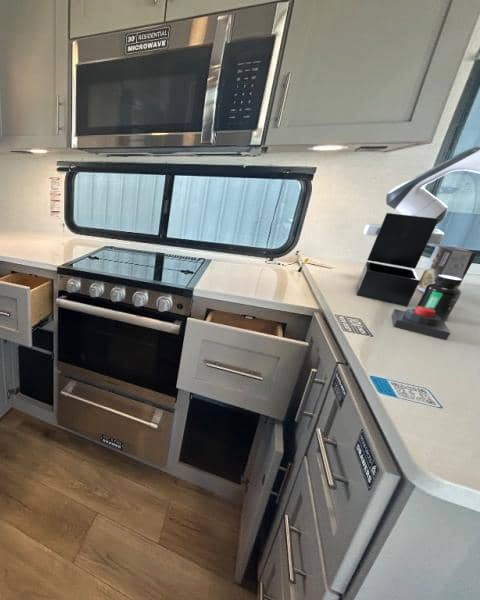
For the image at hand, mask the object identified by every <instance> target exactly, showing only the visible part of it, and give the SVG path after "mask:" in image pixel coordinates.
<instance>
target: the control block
mask: <svg viewBox="0 0 480 600" xmlns="http://www.w3.org/2000/svg"><path fill="white" fill-rule="evenodd" d="M415 309H416V308H407V309H406V310H405V311H404V310H401V309H397V308H394V309H393V311H392V312H391V313H392V314H391V320H392V327H393V328H397V329H400V330H405V331H408V332H411V333H416V334H420V335H423V336H428V337H432V338H436V339H440V340H444V341H447V340H448V338H449V337H450V335H451V331H450V329H449V327H448V325H447V324H446V322H445V320H441V318H440V316H438V315H436V314H434V316H433V317H425V316H421V315H418V314H416V313H414V311H415Z"/></svg>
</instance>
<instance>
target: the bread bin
mask: <svg viewBox="0 0 480 600" xmlns="http://www.w3.org/2000/svg"><path fill="white" fill-rule="evenodd" d="M419 282H420V278H419V276H418V274H417V272H416V270H415V269H413V268H408V267H402V266H396V265H391V264H385V263H379V262H373V261H366V262H365V264H364V267H363V269H362V272H361V274H360V277H359V279H358V281H357V284H356V295H355V296H358V297H362V298H366V299H371V300H375V301H380V302H383V303H388V304H393V305H397V306H401V307H406V308H407V307H408V306H409V304H410V302H411V300H412V298H413V296H414V294H415V292H416V290H417V286H418V284H419Z"/></svg>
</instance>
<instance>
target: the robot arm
mask: <svg viewBox="0 0 480 600" xmlns="http://www.w3.org/2000/svg"><path fill="white" fill-rule="evenodd" d="M459 171H466V172H472V173H476V174H480V147H479V146H475V147H472V148H468V149H467V150H464V151H463V152H460V153H458V154H456V155H454V156H452V157H450V158H449V159H446V160H444V161H443V162H441V163H439V164H437V165H436V166H434V167H432V168H430V169H428V170H426V171H425V172H422V173H420V174H419V175H416V176H415V177H412V178H411V179H409V180H407V181H404V182H401V183H399V184H398V185H396V186H394V187H393V188H391V190H389V191H388V193H386V197H385V198H386V199H385V203H386V205H387V206H389V207H390V208H391V209H393V210H395V211H397V212H398V214H401V215H411V216H420V217H429V218H439V220H438V222H437V224H436V226H435V228H434V230H433V233H432V235H431V237H430V239H429V241H428V243H427V245H426V246H429V245H436V246H439V245H441V243H442V241H443V239H444V237H445V233H444V232H443V231H442V230H440V229H438V226H437V225H438V224H440V223H441V222H442V221H443V220H444V219H445V218H446V216H447V214H448V212H449V206H447V204H445V203H444V202H443V201H441V200H440V199H439V198H438V197H436V196H435V195H433V194H432V193H431V192H430V191H428V190H427V189H426V188H425V186H426V185H428V184H430V183H433V182H434V181H436V180H438V179H440V178H442V177H444V176H447V175H448V174H450V173H453V172H459ZM381 225H382V223H381V224H380V223H367V224H366V225H365V226H364V227H363V235H366V236H370V237H371V236H373V237H377V235H378V233H379V230H380V228H381Z"/></svg>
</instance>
